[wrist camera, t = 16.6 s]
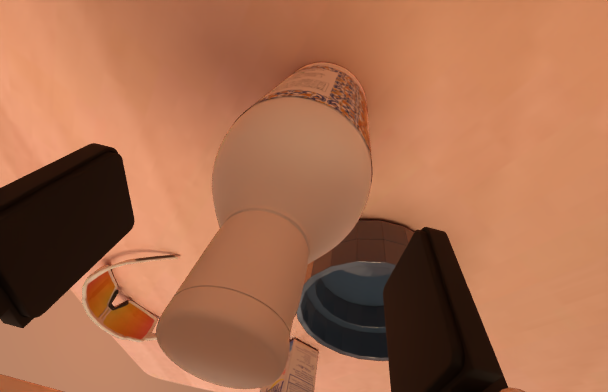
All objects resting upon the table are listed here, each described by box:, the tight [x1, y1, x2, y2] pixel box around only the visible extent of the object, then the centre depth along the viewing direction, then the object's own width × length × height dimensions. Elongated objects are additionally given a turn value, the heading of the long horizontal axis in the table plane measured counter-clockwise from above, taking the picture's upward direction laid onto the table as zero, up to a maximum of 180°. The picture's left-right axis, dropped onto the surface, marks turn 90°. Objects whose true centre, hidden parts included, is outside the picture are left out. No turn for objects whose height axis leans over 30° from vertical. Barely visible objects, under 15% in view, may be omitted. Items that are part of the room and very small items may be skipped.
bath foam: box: [156, 62, 372, 389], centre depth 14 cm, size 7×7×20 cm
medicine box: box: [260, 339, 318, 392], centre depth 39 cm, size 8×4×9 cm, turn 146°
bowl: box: [297, 220, 414, 361], centre depth 29 cm, size 14×14×6 cm
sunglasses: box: [82, 255, 180, 342], centre depth 38 cm, size 14×15×5 cm
